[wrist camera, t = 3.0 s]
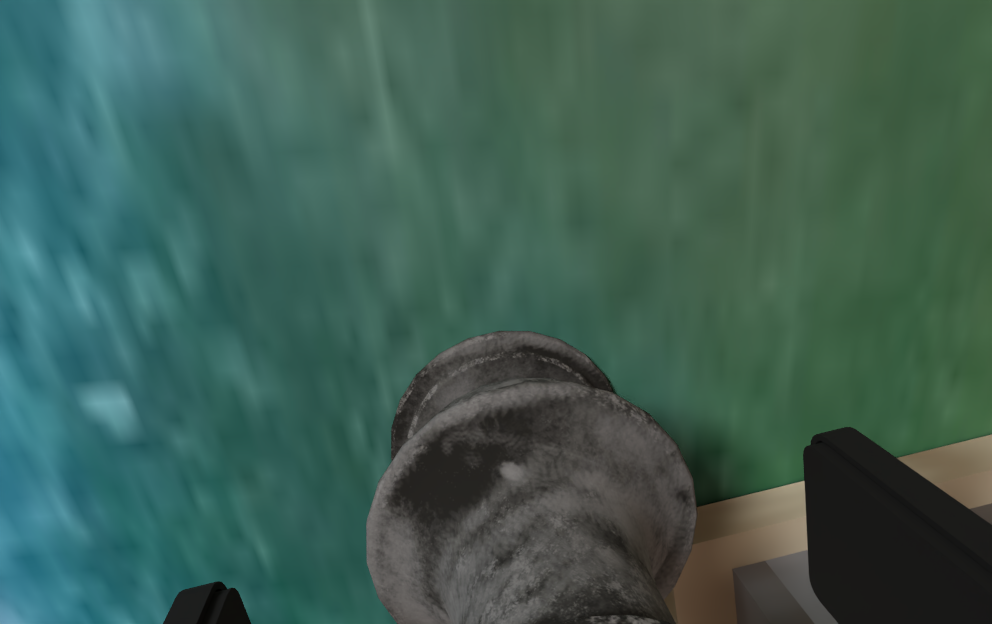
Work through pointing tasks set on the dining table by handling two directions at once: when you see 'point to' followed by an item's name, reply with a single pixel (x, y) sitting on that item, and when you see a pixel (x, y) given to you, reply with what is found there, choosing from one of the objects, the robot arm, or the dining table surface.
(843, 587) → the robot arm
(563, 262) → the dining table surface
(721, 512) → the collar board
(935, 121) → the dining table surface
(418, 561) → the salt shaker
